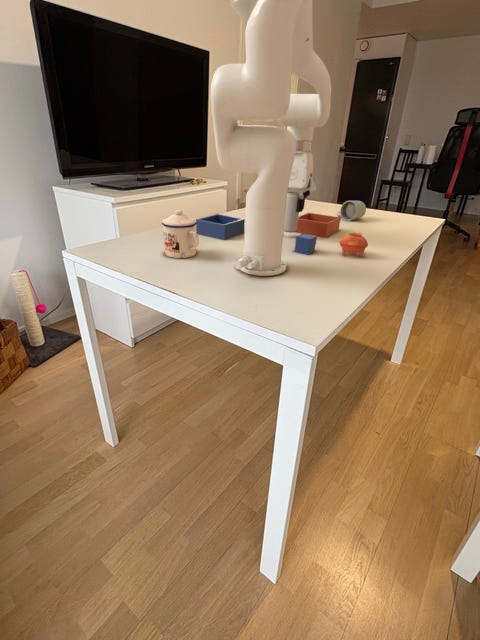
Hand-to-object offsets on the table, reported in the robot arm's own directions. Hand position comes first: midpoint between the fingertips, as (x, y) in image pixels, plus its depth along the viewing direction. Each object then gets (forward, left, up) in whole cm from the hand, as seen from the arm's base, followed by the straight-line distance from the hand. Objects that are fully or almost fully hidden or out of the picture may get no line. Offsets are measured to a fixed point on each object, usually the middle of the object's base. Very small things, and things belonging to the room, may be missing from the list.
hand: (291, 209), depth 110 cm
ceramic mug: (+42, -7, -9) cm, 43 cm away
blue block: (-11, -11, -9) cm, 18 cm away
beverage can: (0, 0, -7) cm, 7 cm away
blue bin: (-11, +20, -9) cm, 25 cm away
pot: (-5, -23, -9) cm, 25 cm away
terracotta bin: (+14, -4, -9) cm, 17 cm away
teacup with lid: (-36, +14, -9) cm, 40 cm away
